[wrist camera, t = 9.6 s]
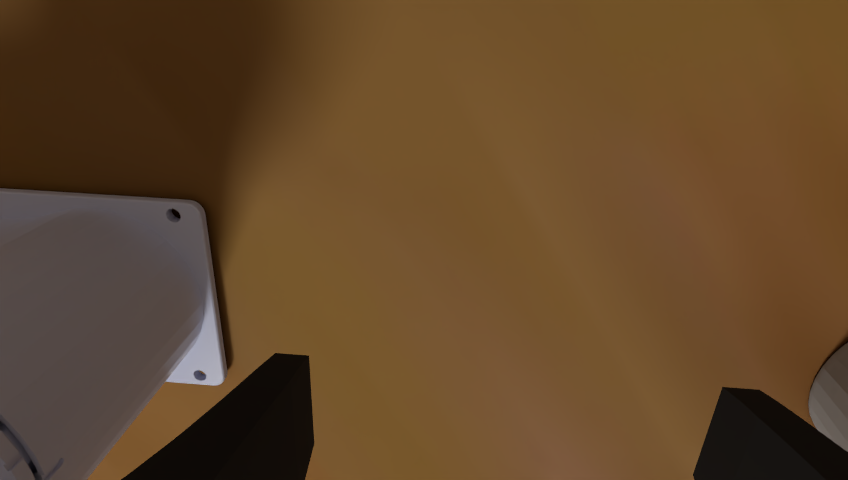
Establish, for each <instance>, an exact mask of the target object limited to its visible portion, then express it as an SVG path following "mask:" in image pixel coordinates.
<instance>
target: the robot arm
mask: <svg viewBox="0 0 848 480" xmlns="http://www.w3.org/2000/svg"><path fill="white" fill-rule="evenodd" d="M172 209H175V210H177V211H178V212H179V213H180V216H181V218H176V217H175V216H174V215H173V213H172ZM199 370H200V371H203V372H204V373H205V374H206V375H205V374H202V373H200V372H199ZM226 377H227V365H226V358H225V351H224V344H223V336H222V329H221V322H220V315H219V308H218V301H217V294H216V286H215V279H214V272H213V265H212V258H211V251H210V243H209V236H208V229H207V222H206V215H205V211H204V209H203V207H202V206H201V205H200V204H199V203H197V202H196V201H192V200H184V199H168V198H152V197H136V196H120V195H103V194H87V193H71V192H55V191H39V190H22V189H6V188H0V480H87V479H88V477H89V476H90V475H91V474H92V472H93V471H94V470H95V469H96V467H97V466H98V465H99V464H100V462H101V461H102V460H103V459H104V457H105V456H106V455H107V454H108V452H109V451H110V450H111V449H112V447H113V446H114V445H115V444H116V442H117V441H118V440H119V439H120V437H121V436H122V435H123V434H124V432H125V431H126V430H127V429H128V427H129V426H130V425H131V424H132V422H133V421H134V420H135V419H136V417H137V416H138V415H139V414H140V412H141V411H142V410H143V409H144V407H145V406H146V405H147V404H148V402H149V401H150V400H151V399H152V397H153V396H154V395H155V394H156V392H157V391H158V390H159V389H160V387H161V386H162V385H163V384H164V382H177V383H189V384H202V385H220V384H222V383H223V381H224V380H225V378H226ZM313 446H314V432H313V416H312V400H311V384H310V367H309V356H306V355H293V354H279V353H275V354H274V355H273V356H271V357H270V358H269V359H268V360H267V361H266V362H264V363H263V364H262V365H261V366H260V367H258V368H257V369H256V370H255V371H254V372H253V373H252V374H250V375H249V376H248V377H247V378H246V379H245V380H244V381H242V382H241V383H240V384H239V385H238V386H237V387H236V388H234V389H233V390H232V391H231V392H230V393H229V394H228V395H226V396H225V397H224V398H223V399H222V400H221V401H219V402H218V403H217V404H216V405H215V406H214V407H212V408H211V409H210V410H209V411H208V412H206V413H205V414H204V415H203V416H202V417H200V418H199V419H198V420H197V421H196V422H194V423H193V424H192V425H191V426H190V427H188V428H187V429H186V430H185V431H184V432H182V433H181V434H180V435H179V436H178V437H176V438H175V439H174V440H173V441H171V442H170V443H169V444H167V445H166V446H165V447H163V448H162V449H161V450H160V451H158V452H157V453H156V454H154V455H153V456H152V457H150V458H149V459H148V460H147V461H145V462H144V463H143V464H141V465H140V466H139V467H137V468H136V469H135V470H134V471H132V472H131V473H130V474H128V475H127V476H126V477H124V478H123V479H121V480H305V477H306V473H307V469H308V465H309V461H310V458H311V454H312V450H313ZM693 476H694V480H848V452H847V451H846V450H844V449H843V448H842V447H840V446H839V445H837V444H836V443H835V442H833V441H832V440H831V439H829V438H828V437H826V436H825V435H824V434H822V433H821V432H820V431H818V430H817V429H815V428H814V427H813V426H811V425H810V424H809V423H807V422H806V421H804V420H803V419H802V418H800V417H799V416H797V415H796V414H795V413H793V412H792V411H790V410H789V409H787V408H786V407H785V406H783V405H782V404H780V403H779V402H777V401H776V400H774V399H773V398H771V397H770V396H768V395H767V394H765V393H763V392H762V391H760V390H754V389H740V388H727V387H722V390H721V393H720V396H719V399H718V402H717V405H716V408H715V411H714V414H713V417H712V420H711V423H710V426H709V429H708V432H707V435H706V438H705V441H704V444H703V447H702V450H701V453H700V456H699V459H698V462H697V465H696V467H695V470H694V473H693Z"/></svg>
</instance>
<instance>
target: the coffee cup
mask: <svg viewBox="0 0 848 480" xmlns="http://www.w3.org/2000/svg"><path fill="white" fill-rule="evenodd" d="M808 403H809V413H810V416H811V418H812V420H813V423H814V425H815V427H816V428H817V430H818V431H820V432H821V433H822V434H824V435H825V436H826V437H828V438H829V439H831V440H832V441H833V442H835V443H836V444H837V445H839V446H840V447H842V448H843V449H844V450H846V451H847V452H848V343H846V344H845V345H844V346H842V347H841V348H840V349H839V350H838V351H836V352H835V353H834V354H833V355H832V356H831V357H830V358H829V359H828V361H827V362H826V363H825V364H824V365H823V366H822V368H821V370H820V371H819V373H818V374H817V376H816V378H815V380H814V383H813V385H812V388H811V390H810V396H809V402H808Z"/></svg>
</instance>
